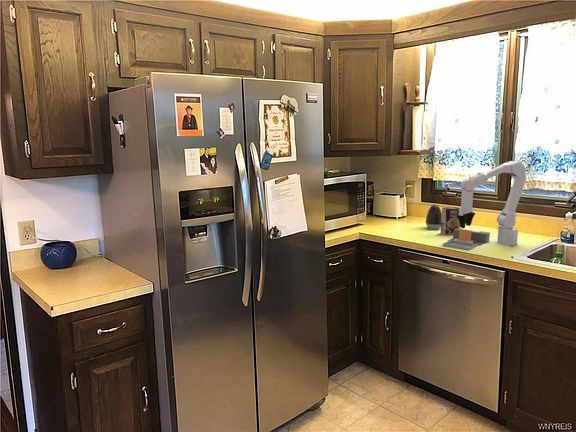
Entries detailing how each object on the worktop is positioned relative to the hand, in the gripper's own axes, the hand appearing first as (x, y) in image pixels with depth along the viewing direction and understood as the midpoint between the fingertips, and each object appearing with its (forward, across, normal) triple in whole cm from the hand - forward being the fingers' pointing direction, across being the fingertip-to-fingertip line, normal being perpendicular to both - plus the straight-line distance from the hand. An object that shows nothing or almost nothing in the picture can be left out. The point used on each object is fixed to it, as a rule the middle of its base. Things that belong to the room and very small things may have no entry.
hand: (465, 226), depth 249 cm
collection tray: (+9, +9, +1) cm, 13 cm away
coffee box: (+10, -15, -15) cm, 23 cm away
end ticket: (+9, 0, 0) cm, 9 cm away
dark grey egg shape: (+10, -25, -30) cm, 40 cm away
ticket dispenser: (+9, -5, 0) cm, 11 cm away
